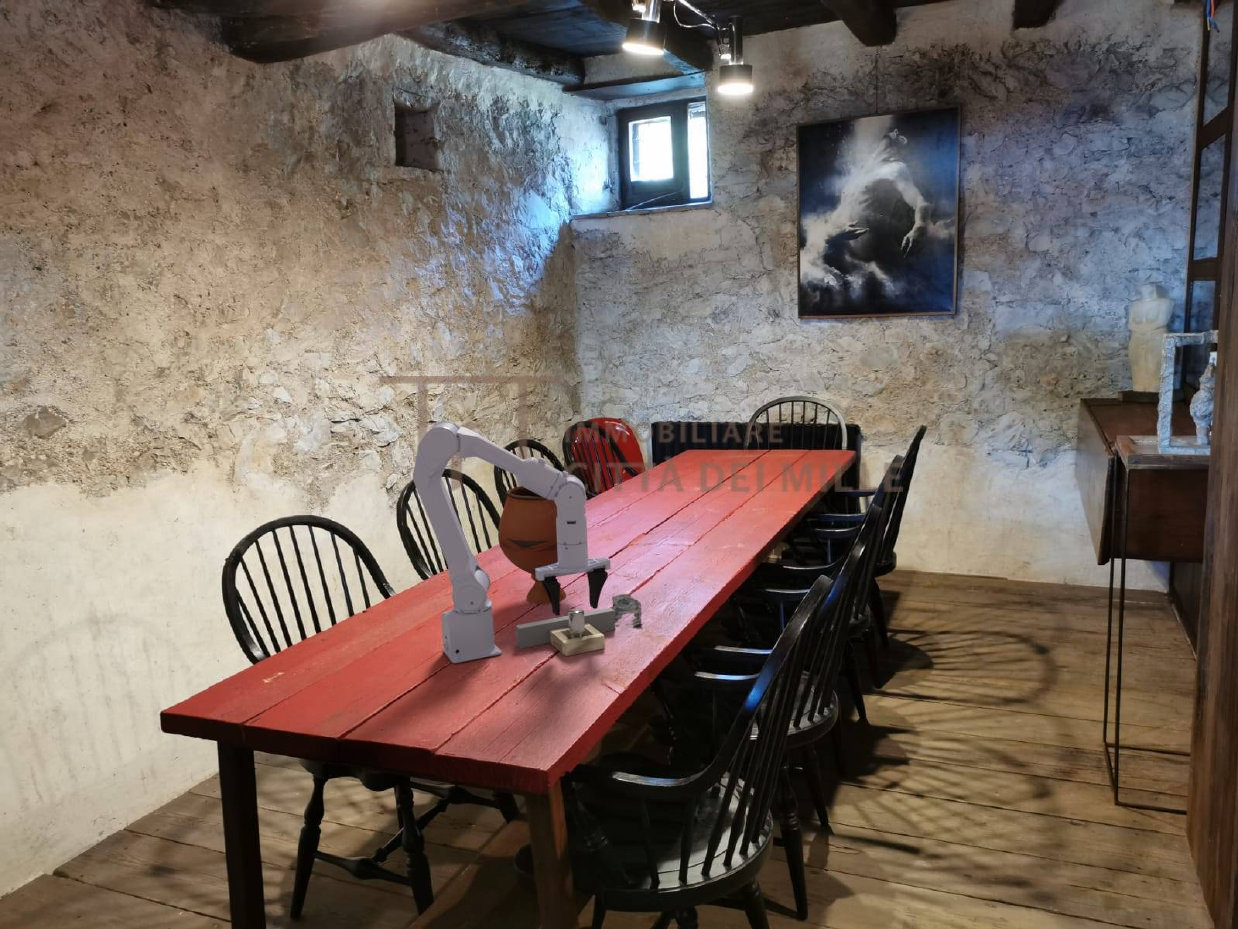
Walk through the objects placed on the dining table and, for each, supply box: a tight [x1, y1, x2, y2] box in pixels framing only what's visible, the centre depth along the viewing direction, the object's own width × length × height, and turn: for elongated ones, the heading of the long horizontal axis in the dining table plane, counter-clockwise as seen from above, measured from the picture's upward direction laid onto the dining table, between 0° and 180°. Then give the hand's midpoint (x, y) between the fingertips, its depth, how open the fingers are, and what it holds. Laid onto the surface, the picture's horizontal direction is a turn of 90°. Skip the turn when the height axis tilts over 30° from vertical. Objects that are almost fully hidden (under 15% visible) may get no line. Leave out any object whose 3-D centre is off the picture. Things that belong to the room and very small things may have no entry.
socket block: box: [549, 623, 606, 657], centre depth 175 cm, size 8×8×2 cm
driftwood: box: [612, 593, 643, 628], centre depth 195 cm, size 21×7×2 cm, turn 178°
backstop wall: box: [515, 607, 616, 649], centre depth 180 cm, size 20×2×4 cm, turn 115°
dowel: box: [567, 608, 585, 639], centre depth 175 cm, size 3×3×7 cm
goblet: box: [497, 485, 567, 605], centre depth 203 cm, size 19×19×25 cm
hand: (575, 610), depth 174 cm, fingers open, 7 cm apart
